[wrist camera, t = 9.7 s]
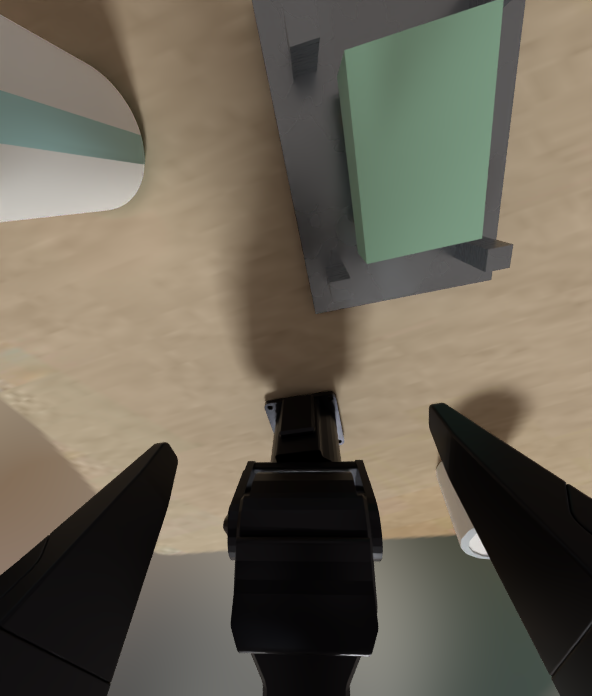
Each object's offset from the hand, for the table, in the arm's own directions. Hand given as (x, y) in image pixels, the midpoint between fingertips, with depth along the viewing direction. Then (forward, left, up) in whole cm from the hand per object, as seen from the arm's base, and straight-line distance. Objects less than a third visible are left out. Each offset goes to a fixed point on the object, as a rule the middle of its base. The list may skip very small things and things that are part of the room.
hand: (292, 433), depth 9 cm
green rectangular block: (+7, -7, -11) cm, 15 cm away
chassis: (+7, -7, -13) cm, 16 cm away
